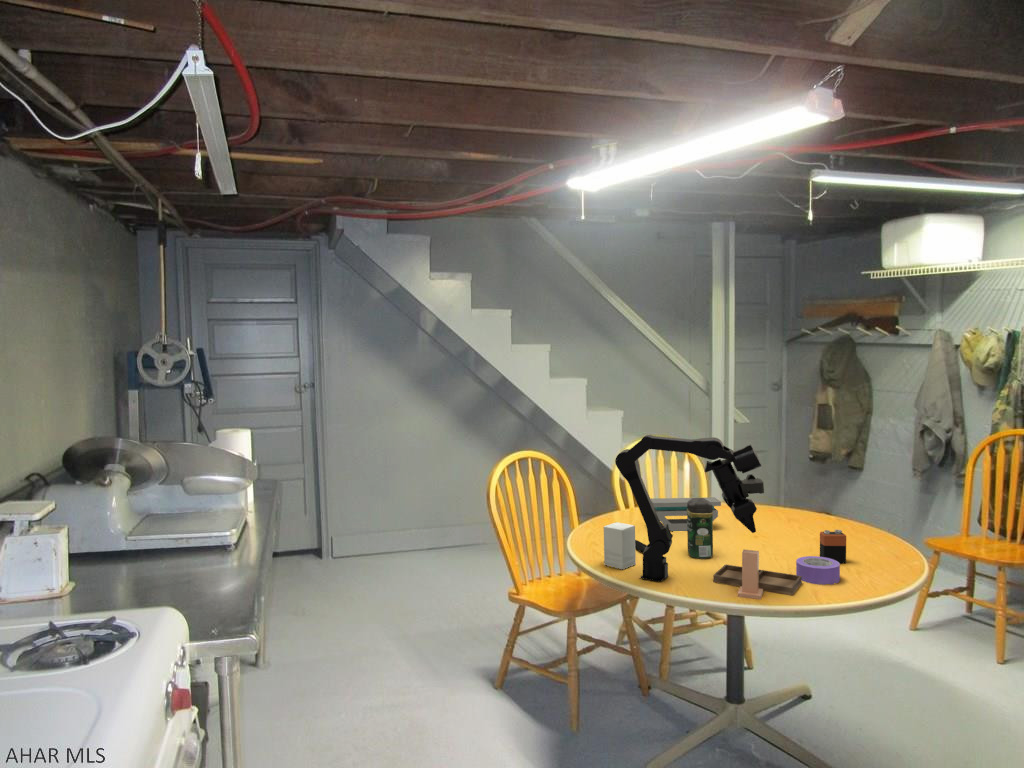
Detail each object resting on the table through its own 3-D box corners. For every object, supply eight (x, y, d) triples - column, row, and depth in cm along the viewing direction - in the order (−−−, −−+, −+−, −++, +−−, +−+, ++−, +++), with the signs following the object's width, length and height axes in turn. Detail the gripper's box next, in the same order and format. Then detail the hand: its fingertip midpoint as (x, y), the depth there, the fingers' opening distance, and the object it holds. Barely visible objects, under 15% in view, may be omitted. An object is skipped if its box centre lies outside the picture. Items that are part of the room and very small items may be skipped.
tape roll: (804, 585, 204) (804, 567, 204) (790, 572, 216) (790, 555, 216) (846, 585, 204) (846, 567, 203) (830, 572, 215) (830, 555, 215)
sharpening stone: (714, 525, 272) (714, 497, 271) (721, 530, 264) (720, 501, 264) (649, 526, 272) (649, 498, 271) (653, 532, 264) (653, 503, 264)
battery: (846, 563, 223) (846, 532, 222) (824, 563, 223) (824, 532, 223) (841, 559, 227) (841, 528, 226) (819, 559, 227) (819, 528, 227)
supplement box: (636, 564, 225) (636, 525, 224) (622, 570, 220) (622, 529, 219) (617, 560, 230) (617, 521, 230) (603, 565, 225) (602, 525, 224)
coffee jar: (685, 550, 239) (685, 496, 238) (709, 551, 239) (709, 496, 238) (689, 559, 230) (689, 502, 229) (715, 559, 229) (714, 502, 228)
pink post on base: (737, 596, 195) (737, 553, 195) (740, 589, 201) (740, 547, 200) (760, 599, 193) (760, 555, 192) (763, 592, 198) (763, 549, 198)
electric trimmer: (640, 547, 246) (640, 538, 245) (662, 559, 231) (662, 550, 231) (630, 548, 245) (630, 539, 244) (651, 561, 230) (651, 551, 230)
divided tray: (713, 581, 208) (713, 575, 208) (725, 570, 218) (725, 564, 217) (792, 595, 195) (792, 588, 195) (801, 582, 205) (801, 576, 205)
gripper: (761, 475, 194) (786, 526, 195) (746, 460, 213) (769, 506, 214) (723, 492, 196) (747, 542, 197) (712, 475, 214) (734, 521, 215)
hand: (750, 527), depth 206 cm, fingers open, 9 cm apart
